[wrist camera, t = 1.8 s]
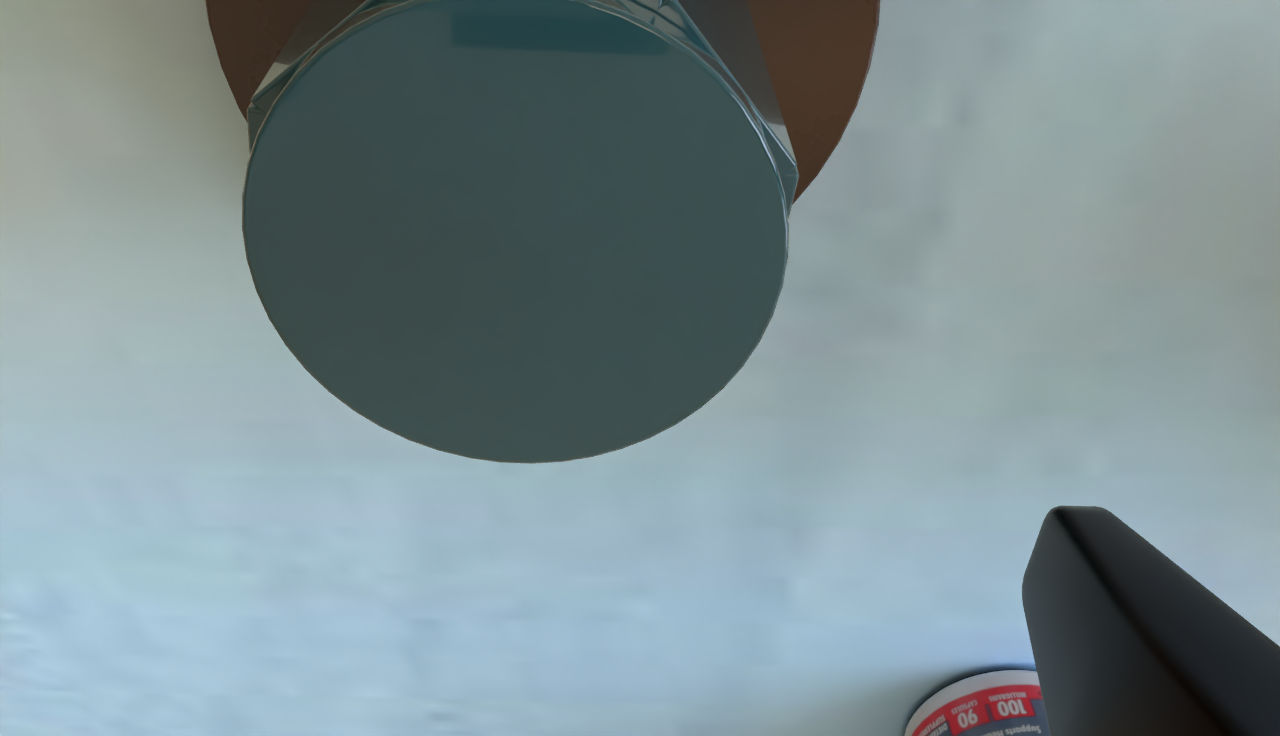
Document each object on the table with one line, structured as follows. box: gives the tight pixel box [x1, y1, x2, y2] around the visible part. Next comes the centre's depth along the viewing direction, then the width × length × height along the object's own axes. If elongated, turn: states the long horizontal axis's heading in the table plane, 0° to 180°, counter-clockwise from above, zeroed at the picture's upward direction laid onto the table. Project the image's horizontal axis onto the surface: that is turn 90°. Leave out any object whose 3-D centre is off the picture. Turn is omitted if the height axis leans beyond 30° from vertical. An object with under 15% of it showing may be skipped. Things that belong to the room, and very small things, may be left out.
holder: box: [206, 0, 880, 205], centre depth 16 cm, size 11×11×8 cm
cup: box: [242, 0, 799, 463], centre depth 15 cm, size 6×6×7 cm
